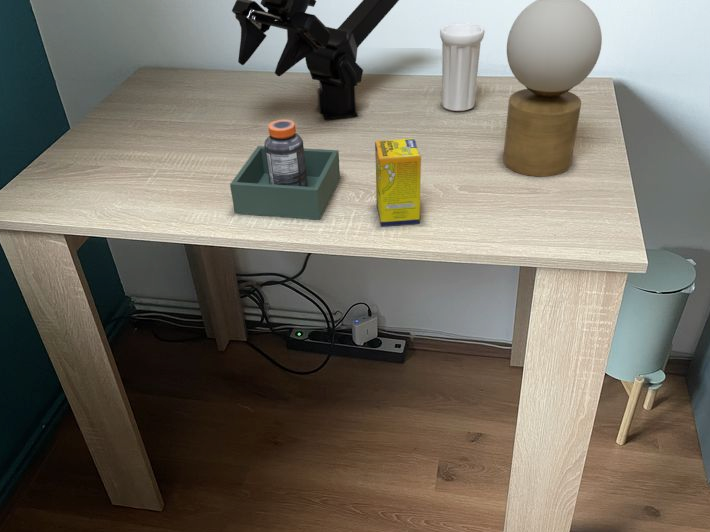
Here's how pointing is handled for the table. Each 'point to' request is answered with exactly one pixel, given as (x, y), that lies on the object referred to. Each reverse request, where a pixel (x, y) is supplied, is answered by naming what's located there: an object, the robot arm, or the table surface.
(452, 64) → the cup
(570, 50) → the lamp
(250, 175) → the green square tray
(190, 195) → the table surface
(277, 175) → the pill bottle
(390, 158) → the supplement box
